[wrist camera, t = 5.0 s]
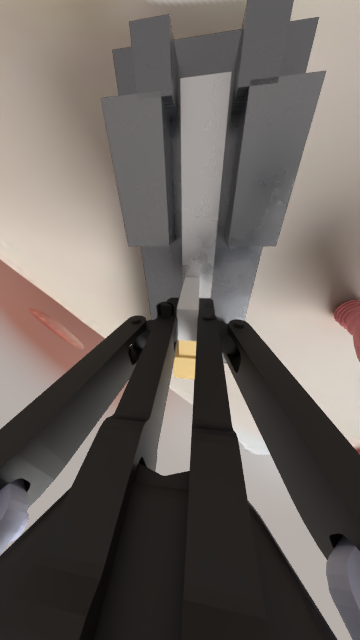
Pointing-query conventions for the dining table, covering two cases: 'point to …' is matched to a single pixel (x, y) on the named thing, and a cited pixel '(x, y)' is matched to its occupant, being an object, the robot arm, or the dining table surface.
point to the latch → (185, 359)
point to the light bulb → (350, 320)
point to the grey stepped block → (240, 142)
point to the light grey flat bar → (202, 171)
